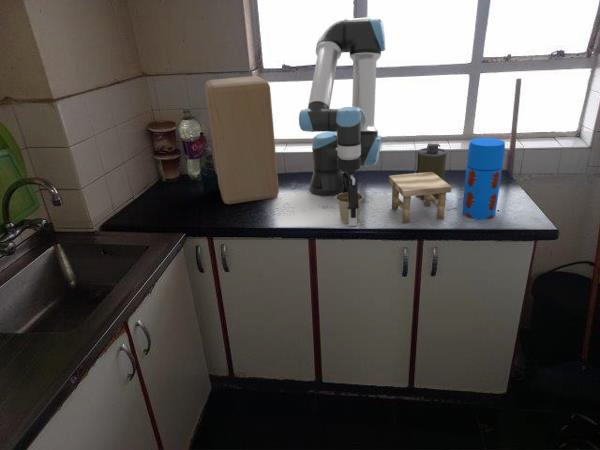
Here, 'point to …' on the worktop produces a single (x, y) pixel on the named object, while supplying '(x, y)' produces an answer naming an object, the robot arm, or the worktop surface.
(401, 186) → the footstool
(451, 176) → the worktop surface
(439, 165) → the canister
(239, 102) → the block
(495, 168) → the thermos
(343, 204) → the flower pot
